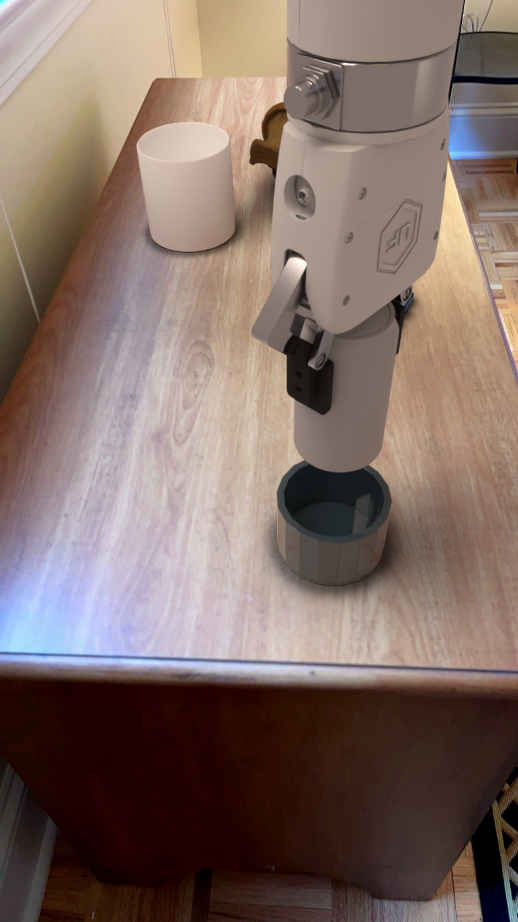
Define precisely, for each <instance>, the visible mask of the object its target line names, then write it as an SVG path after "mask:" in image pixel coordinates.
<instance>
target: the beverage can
mask: <svg viewBox="0 0 518 922" xmlns="http://www.w3.org/2000/svg"><path fill="white" fill-rule="evenodd" d="M317 329H318V325H317V324H316V323H314V322H312V321H310V320H308V319H307V318H306V319H305V322H304V325H303V329H302V332H301V335H300V338H302V339H304V340H306V341H308V342H310V343H311V344H313V342H314V339H315V335H316V332H317ZM398 337H399V326H398V323H397V321H396V319H395V309H394V306H393V304H392V303H391V301H390V302H389V303H387V304H386V305H385V306H383V307H382V308H381V309H379V310H378V311H377V312H375V313H374V314H373V315H371V316H370V317H369V318H367V319H366V320H364V321H363V322H362V323H360V324H359V325H357V326H356V327H354V328H352V329H351V330H349V331H346V332H344V333H340V334H335V337H334V340H333V343H332V346H331V349H330V352H329V355H328V358H327V359H329V360H331V361H332V362H333V363H334V374H333V388H332V403H331V410H330V411H329V412H327V413H326V414H325V415H321V414H319V413H317V412H316V411H314V410H312V409H311V408H309V407H307V406H305V405H303V404H301V403H299V402H298V401H296V400H295V399H294V398H293V443H294V447H295V448H296V451H297V453H298V455H299V456H300V457H301V458H302V459H303V460H305V461H307V462H308V463H309V464H311V465H313V466H315V467H317V468H319V469H322V470H325V471H330V472H350V471H355V470H358V469H361V468H363V467H365V466H367V465H370V464H372V463H373V462H374V461H375V460H376V459H377V457H378V456H379V455H380V453H381V451H382V448H383V444H384V437H385V429H386V424H387V423H386V422H387V416H388V410H389V403H390V398H391V391H392V384H393V376H394V371H395V370H394V369H395V364H396V358H397V357H396V356H397V355H396V350H397V343H398Z"/></svg>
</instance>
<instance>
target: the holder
mask: <svg viewBox="0 0 518 922" xmlns="http://www.w3.org/2000/svg"><path fill="white" fill-rule="evenodd" d="M392 504H393V500H392V495H391V490H390V487H389V484H388V482H387V481H386V480H385V479H384V477H383V476H382V474H381V473H380V472H379V471H378V470H377V469H375V468H374V467H372V466H371V465H370V464H369V465H367V466H365V467H363V468H361V469H358V470H355V471H350V472H330V471H325V470H322V469H319V468H317V467H315V466H313V465H311V464H309V463H308V462H307V461H305V460H304V459H303V460H301V461H300V462H298V463H296V464H294V465H292V466H291V467H290V468H289V469H288V470H287V471H286V473H284V475H282V477H281V479H280V482H279V484H278V487H277V489H276V533H277V534H276V535H277V548H278V552H279V554H280V556H281V558H282V560H283V561H284V563H285V564H286V566H287V567H288V568H289V569H290V570H291V571H292V572H294V574H296V575H297V576H299V577H300V578H302V579H304V580H305V581H309V582H311V583H314V584H317V585H321V586H322V585H323V586H344V585H348V584H351V583H355V582H357V581H360V580H361V579H363V578H364V577H366V576H368V575H369V574H370V573H372V571H374V569H375V568H376V567H377V565H378V564H379V562H380V560H381V558H382V555H383V551H384V547H385V543H386V538H387V532H388V527H389V520H390V516H391V509H392Z"/></svg>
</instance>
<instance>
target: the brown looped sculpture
mask: <svg viewBox="0 0 518 922" xmlns="http://www.w3.org/2000/svg"><path fill="white" fill-rule="evenodd" d="M288 121H289V120H288V117H287V111H286V109H285V106H284V101H282V102H281V101H280V102H278V103H276V104H274V105H272V106H271V107H270V108H269V109H268V110H267V112H265V114H264V117H263V120H262V121H261V136H262V139H261V138H254V139H253V140H252V141H251V145H250V147H249V159H248V164H249V165H251V166H255V165H257V164H261V165H262V164H263V165H266V166H267V167H268V168H269V169H271V175H272V176H273V178H274V179H275V180H276V173H277V165H278V158H279V150H280V144H281V138H282V132H283V126H284V125H285V124H286V123H287V122H288Z"/></svg>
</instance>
